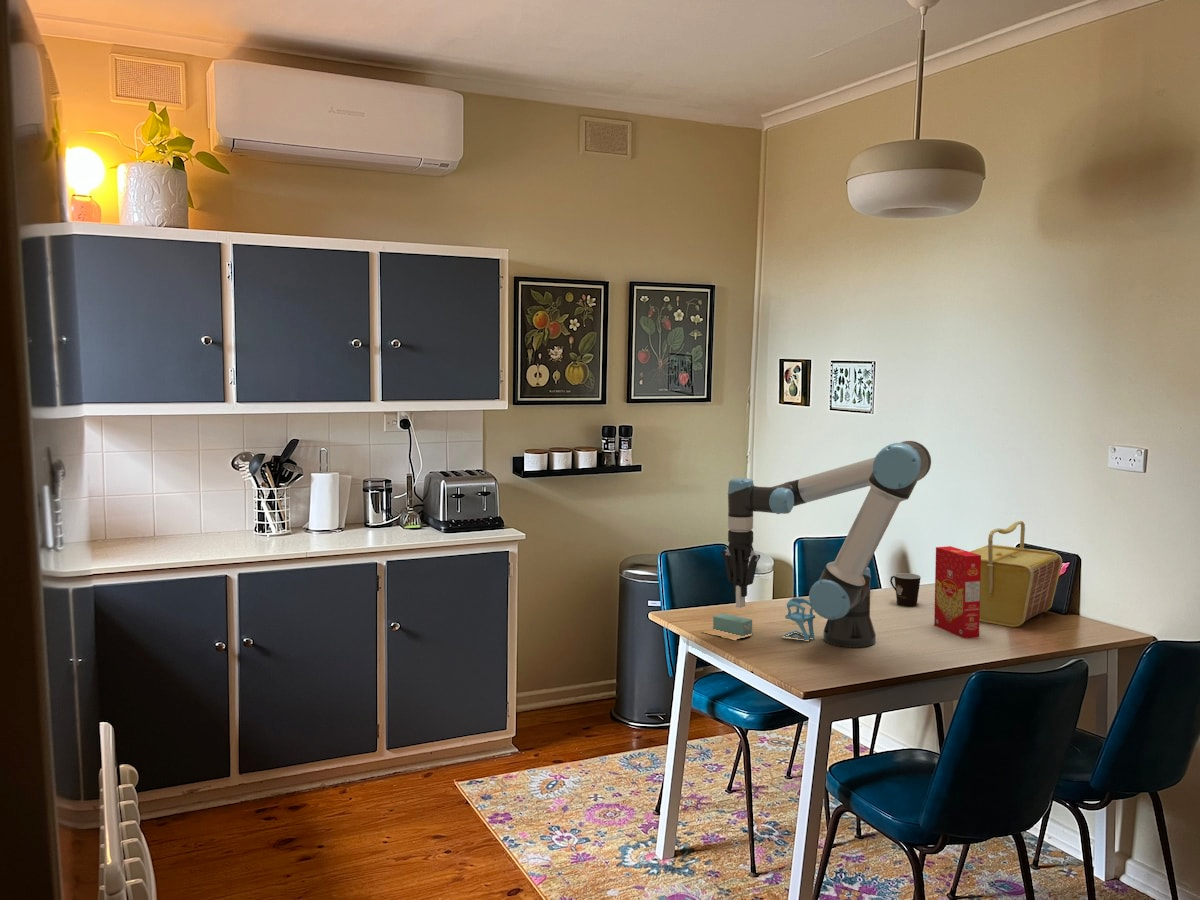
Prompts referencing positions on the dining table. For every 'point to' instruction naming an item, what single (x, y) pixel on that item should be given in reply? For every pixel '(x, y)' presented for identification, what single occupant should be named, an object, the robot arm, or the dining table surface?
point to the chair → (800, 618)
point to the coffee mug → (906, 589)
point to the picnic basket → (1016, 580)
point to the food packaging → (957, 591)
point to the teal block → (732, 624)
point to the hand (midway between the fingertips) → (740, 606)
